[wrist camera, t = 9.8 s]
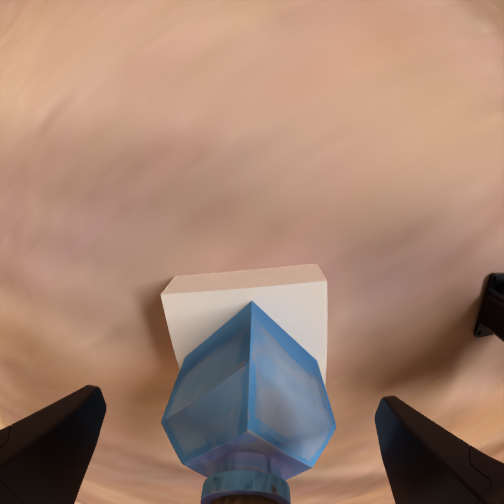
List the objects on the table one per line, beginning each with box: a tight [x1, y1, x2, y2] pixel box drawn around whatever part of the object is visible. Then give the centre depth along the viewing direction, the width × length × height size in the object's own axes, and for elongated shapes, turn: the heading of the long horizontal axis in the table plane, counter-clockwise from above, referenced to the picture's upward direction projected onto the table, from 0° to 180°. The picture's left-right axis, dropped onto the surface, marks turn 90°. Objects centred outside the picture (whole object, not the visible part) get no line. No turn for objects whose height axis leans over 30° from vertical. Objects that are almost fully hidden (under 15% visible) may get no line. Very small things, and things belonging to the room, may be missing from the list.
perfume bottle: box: [161, 301, 336, 504], centre depth 13 cm, size 6×6×12 cm
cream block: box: [161, 264, 327, 385], centre depth 20 cm, size 10×10×4 cm
